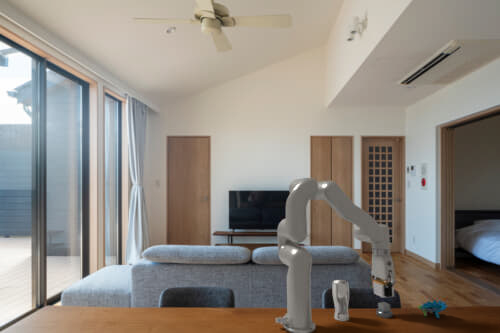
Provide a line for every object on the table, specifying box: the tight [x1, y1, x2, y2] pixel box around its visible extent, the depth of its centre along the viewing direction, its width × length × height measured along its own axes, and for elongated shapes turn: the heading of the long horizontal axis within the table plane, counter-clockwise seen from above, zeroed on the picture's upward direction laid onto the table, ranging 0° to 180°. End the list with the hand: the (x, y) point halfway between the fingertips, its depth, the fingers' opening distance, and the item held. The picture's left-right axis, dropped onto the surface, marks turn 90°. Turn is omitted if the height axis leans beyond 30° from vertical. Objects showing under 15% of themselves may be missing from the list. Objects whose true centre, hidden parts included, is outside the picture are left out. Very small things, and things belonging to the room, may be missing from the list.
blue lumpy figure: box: [418, 299, 448, 319], centre depth 125 cm, size 11×6×10 cm
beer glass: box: [331, 279, 350, 322], centre depth 124 cm, size 7×7×15 cm
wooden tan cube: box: [372, 279, 395, 299], centre depth 127 cm, size 6×6×6 cm
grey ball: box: [376, 301, 394, 319], centre depth 126 cm, size 6×6×5 cm
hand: (383, 293), depth 127 cm, fingers closed on wooden tan cube, 5 cm apart
